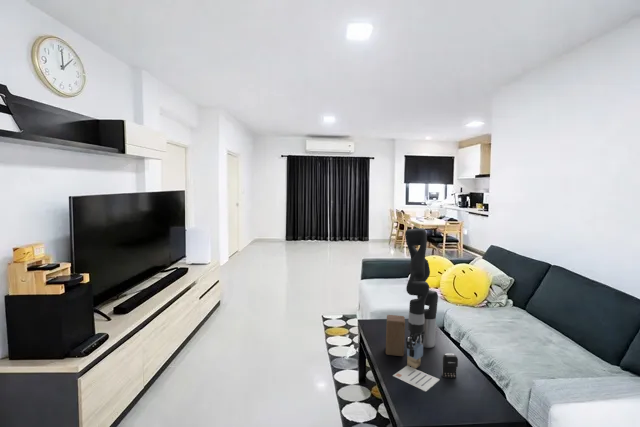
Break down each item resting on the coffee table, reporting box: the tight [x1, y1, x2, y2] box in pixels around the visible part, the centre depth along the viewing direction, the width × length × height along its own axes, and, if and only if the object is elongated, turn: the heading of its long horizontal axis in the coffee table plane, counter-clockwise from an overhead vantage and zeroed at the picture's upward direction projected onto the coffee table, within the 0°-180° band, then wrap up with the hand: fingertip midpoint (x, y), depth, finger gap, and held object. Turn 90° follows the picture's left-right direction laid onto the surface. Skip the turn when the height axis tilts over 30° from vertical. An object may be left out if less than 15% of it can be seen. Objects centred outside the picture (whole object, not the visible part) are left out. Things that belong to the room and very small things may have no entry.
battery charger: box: [441, 353, 459, 379], centre depth 171 cm, size 7×4×11 cm, turn 88°
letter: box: [392, 364, 440, 392], centre depth 170 cm, size 14×18×1 cm
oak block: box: [406, 355, 422, 369], centre depth 182 cm, size 5×5×6 cm
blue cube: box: [406, 342, 424, 360], centre depth 170 cm, size 6×6×6 cm
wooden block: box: [385, 314, 406, 357], centre depth 196 cm, size 10×10×20 cm
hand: (414, 354), depth 170 cm, fingers closed on blue cube, 5 cm apart
